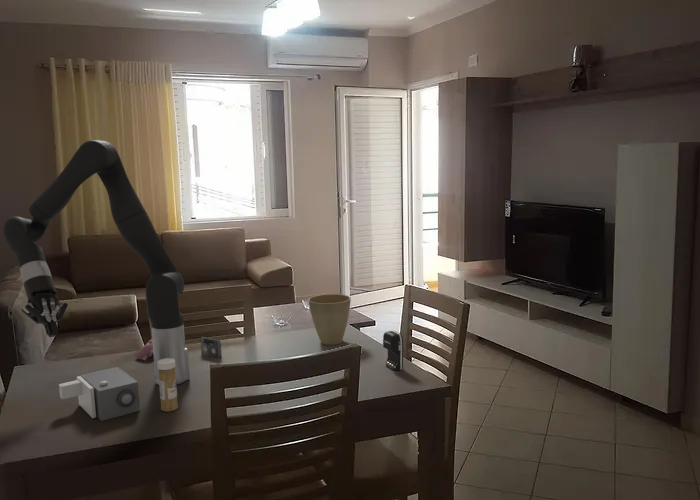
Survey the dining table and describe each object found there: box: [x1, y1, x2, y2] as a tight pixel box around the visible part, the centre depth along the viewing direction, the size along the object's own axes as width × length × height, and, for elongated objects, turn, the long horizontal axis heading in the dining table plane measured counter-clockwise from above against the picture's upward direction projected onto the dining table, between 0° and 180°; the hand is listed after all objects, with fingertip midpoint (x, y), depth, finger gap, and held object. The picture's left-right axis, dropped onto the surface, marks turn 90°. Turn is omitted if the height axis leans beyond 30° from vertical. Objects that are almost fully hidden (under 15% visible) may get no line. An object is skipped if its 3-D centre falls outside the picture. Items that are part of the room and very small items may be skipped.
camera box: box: [80, 366, 141, 422], centre depth 170 cm, size 10×17×9 cm, turn 38°
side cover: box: [58, 375, 97, 419], centre depth 166 cm, size 6×12×8 cm, turn 38°
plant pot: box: [308, 293, 352, 346], centre depth 224 cm, size 15×15×16 cm
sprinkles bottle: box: [157, 358, 179, 412], centre depth 168 cm, size 5×5×13 cm
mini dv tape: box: [200, 336, 223, 359], centre depth 213 cm, size 8×2×6 cm, turn 54°
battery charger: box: [382, 330, 404, 371], centre depth 196 cm, size 7×4×11 cm, turn 27°
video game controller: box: [135, 338, 154, 360], centre depth 215 cm, size 10×5×7 cm, turn 169°
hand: (53, 335), depth 175 cm, fingers closed
